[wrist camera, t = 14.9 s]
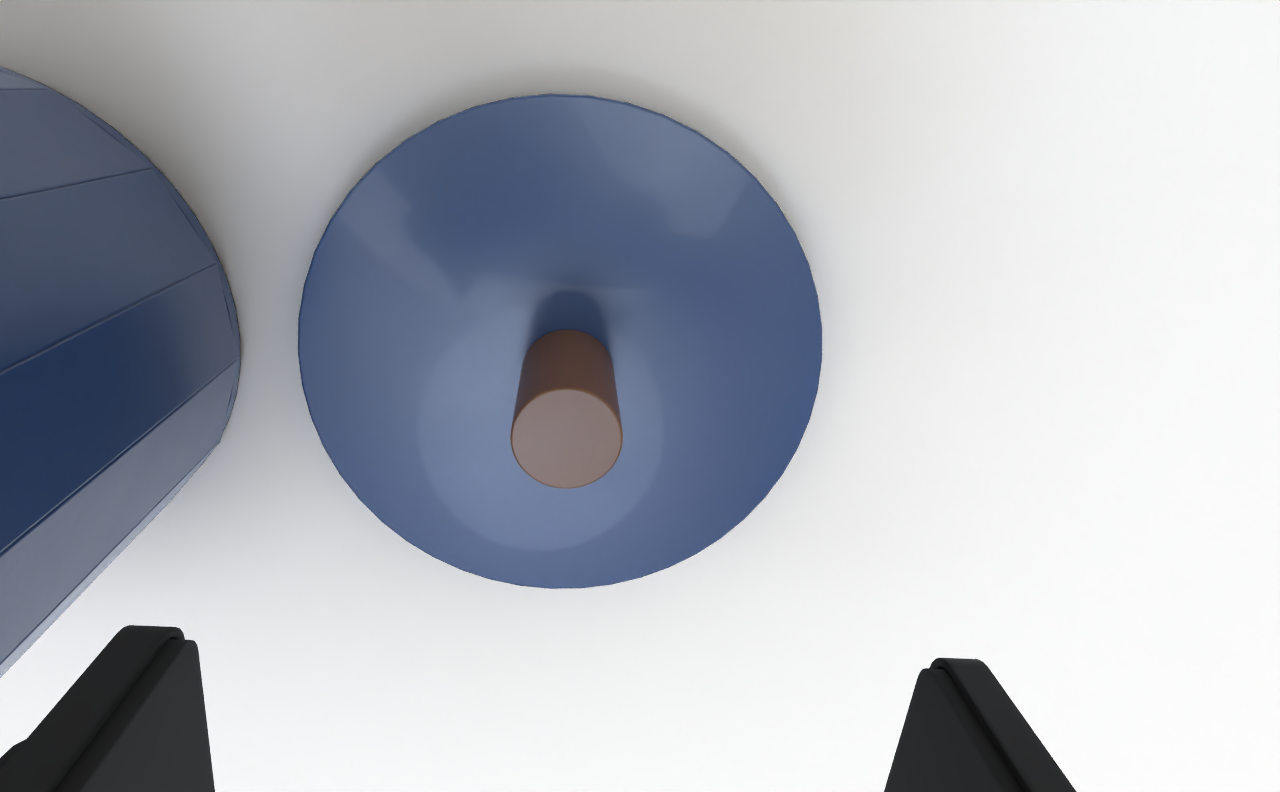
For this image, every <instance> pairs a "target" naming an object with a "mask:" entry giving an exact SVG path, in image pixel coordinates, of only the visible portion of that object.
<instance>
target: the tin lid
mask: <svg viewBox="0 0 1280 792" xmlns="http://www.w3.org/2000/svg"><path fill="white" fill-rule="evenodd" d="M298 356H299V364H300V372H301V380H302V386H303V390H304V394H305V397H306V401H307V405H308V408H309V412H310V415H311V418H312V421H313V423H314V425H315V428H316V430H317V432H318V435H319V437H320V439H321V442H322V444H323V446H324V448H325V450H326V452H327V453H328V455H329V457H330V458H331V460H332V462H333V463H334V465H335V467H336V469H337V470H338V472H339V474H340V475H341V476H342V478H343V479H344V480H345V481H346V483H347V484H348V485H349V487H350V488H351V489H352V490H353V492H354V493H355V494H356V496H357V497H358V498H359V499H360V500H361V501H362V502H363V503H364V504H365V505H366V506H367V507H368V508H369V509H370V510H371V511H372V512H373V513H374V514H375V515H376V516H377V517H378V518H379V519H380V520H381V521H382V522H383V523H384V524H386V525H387V526H388V527H389V528H391V529H392V530H393V531H395V532H396V533H397V534H398V535H400V536H401V537H402V538H404V539H405V540H406V541H408V542H409V543H411V544H413V545H414V546H416V547H418V548H419V549H421V550H423V551H424V552H426V553H427V554H429V555H431V556H432V557H434V558H437V559H439V560H441V561H443V562H445V563H447V564H450V565H452V566H454V567H456V568H458V569H461V570H463V571H466V572H469V573H473V574H476V575H479V576H482V577H485V578H488V579H491V580H496V581H501V582H505V583H510V584H515V585H520V586H529V587H540V588H550V589H555V588H586V587H594V586H603V585H611V584H615V583H619V582H624V581H628V580H632V579H636V578H640V577H643V576H646V575H649V574H652V573H654V572H657V571H660V570H663V569H666V568H669V567H671V566H673V565H675V564H677V563H679V562H681V561H683V560H685V559H687V558H689V557H691V556H693V555H695V554H697V553H698V552H700V551H702V550H703V549H705V548H706V547H708V546H709V545H711V544H712V543H714V542H716V541H717V540H719V539H720V538H722V537H723V536H724V535H725V534H727V533H728V532H729V531H730V530H731V529H733V528H734V527H735V526H736V525H738V524H739V523H740V522H741V521H743V520H744V519H745V518H746V517H747V516H748V515H749V514H750V513H751V511H752V510H753V509H754V508H755V507H756V506H757V505H758V504H759V503H760V502H761V501H762V500H763V499H764V498H765V497H766V495H767V494H768V493H769V491H770V490H771V489H772V488H773V486H774V485H775V484H776V482H777V481H778V480H779V478H780V477H781V476H782V474H783V473H784V471H785V469H786V467H787V466H788V464H789V462H790V461H791V459H792V457H793V455H794V454H795V452H796V450H797V448H798V446H799V444H800V441H801V439H802V437H803V434H804V432H805V430H806V427H807V425H808V422H809V420H810V416H811V413H812V409H813V405H814V402H815V398H816V395H817V391H818V384H819V377H820V370H821V362H822V324H821V317H820V309H819V302H818V295H817V292H816V288H815V284H814V281H813V277H812V274H811V270H810V267H809V263H808V261H807V259H806V257H805V254H804V252H803V250H802V247H801V245H800V243H799V241H798V238H797V236H796V234H795V232H794V230H793V229H792V227H791V225H790V224H789V222H788V221H787V219H786V217H785V216H784V214H783V212H782V211H781V209H780V208H779V206H778V204H777V203H776V202H775V201H774V199H773V198H772V197H771V196H770V195H769V193H768V192H767V191H766V190H765V189H764V187H763V186H762V185H761V184H760V183H759V181H758V180H757V179H756V178H755V177H754V176H753V175H752V174H751V173H750V172H749V171H748V170H747V169H746V168H745V167H744V166H742V165H741V164H740V163H739V162H738V161H737V160H736V159H735V158H734V157H733V156H731V155H730V154H729V153H728V152H727V151H725V150H724V149H722V148H721V147H719V146H718V145H717V144H715V143H714V142H712V141H711V140H709V139H708V138H706V137H705V136H703V135H702V134H700V133H699V132H698V131H696V130H694V129H692V128H690V127H688V126H686V125H683V124H681V123H679V122H677V121H675V120H673V119H671V118H669V117H667V116H665V115H663V114H660V113H657V112H654V111H651V110H648V109H645V108H642V107H639V106H636V105H633V104H630V103H627V102H623V101H617V100H612V99H606V98H601V97H596V96H590V95H571V94H542V95H531V96H521V97H512V98H508V99H504V100H500V101H496V102H491V103H487V104H483V105H479V106H475V107H472V108H470V109H467V110H465V111H462V112H460V113H457V114H455V115H452V116H450V117H447V118H445V119H442V120H440V121H437V122H436V123H434V124H432V125H431V126H429V127H427V128H425V129H424V130H422V131H420V132H418V133H417V134H415V135H413V136H411V137H410V138H408V139H406V140H405V141H404V142H402V143H401V144H400V145H398V146H397V147H396V148H395V149H393V150H392V151H391V152H390V153H388V154H387V155H386V156H385V157H383V158H382V159H381V160H379V161H378V162H377V163H376V164H375V165H374V166H373V167H372V168H371V169H370V170H369V171H368V172H367V173H366V174H365V176H364V177H363V178H362V179H361V180H360V181H359V182H358V183H357V184H356V185H355V186H354V187H353V188H352V189H351V191H350V192H349V193H348V195H347V196H346V198H345V199H344V201H343V202H342V204H341V205H340V206H339V208H338V209H337V211H336V212H335V214H334V215H333V216H332V218H331V219H330V221H329V223H328V225H327V227H326V229H325V231H324V233H323V235H322V237H321V240H320V242H319V244H318V246H317V248H316V250H315V252H314V255H313V258H312V261H311V264H310V267H309V271H308V274H307V277H306V280H305V283H304V288H303V294H302V300H301V306H300V312H299V318H298Z"/></svg>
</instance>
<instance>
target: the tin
mask: <svg viewBox="0 0 1280 792" xmlns="http://www.w3.org/2000/svg"><path fill="white" fill-rule="evenodd" d="M239 372H240V335H239V329H238V322H237V316H236V310H235V305H234V302H233V298H232V295H231V291H230V288H229V285H228V281H227V278H226V275H225V273H224V270H223V268H222V266H221V264H220V261H219V259H218V257H217V255H216V252H215V250H214V248H213V245H212V244H211V242H210V240H209V238H208V237H207V235H206V233H205V232H204V230H203V228H202V227H201V225H200V223H199V222H198V220H197V218H196V216H195V215H194V213H193V212H192V211H191V209H190V208H189V207H188V205H187V204H186V203H185V201H184V200H183V199H182V197H181V196H180V195H179V193H178V192H177V191H176V189H175V188H174V187H173V185H172V184H171V183H170V182H169V181H168V180H167V179H166V177H165V176H164V175H163V174H162V173H161V172H160V171H159V170H158V169H157V168H156V167H155V166H154V165H153V164H152V163H151V161H150V160H149V159H148V158H147V157H146V156H145V155H144V154H143V153H142V152H140V151H139V150H138V149H137V148H136V147H135V146H133V145H132V144H131V143H130V142H129V141H128V140H127V139H125V138H124V137H123V136H122V135H121V134H120V133H118V132H117V131H116V130H115V129H114V128H112V127H111V126H110V125H108V124H107V123H105V122H104V121H102V120H101V119H100V118H98V117H97V116H95V115H94V114H92V113H91V112H90V111H88V110H87V109H85V108H84V107H82V106H81V105H80V104H78V103H76V102H74V101H72V100H71V99H69V98H67V97H65V96H63V95H62V94H60V93H58V92H56V91H54V90H52V89H51V88H49V87H47V86H45V85H43V84H41V83H39V82H37V81H34V80H32V79H30V78H27V77H25V76H22V75H20V74H18V73H15V72H13V71H11V70H8V69H6V68H3V67H0V678H1V677H2V676H3V675H4V674H5V673H6V671H7V670H8V669H9V668H10V667H11V666H12V665H13V664H14V663H15V662H16V661H17V660H18V659H19V658H20V657H21V656H22V655H23V654H24V653H25V652H26V651H27V650H28V649H29V648H30V647H31V645H32V644H33V643H34V642H35V641H36V640H37V639H38V638H39V637H40V636H41V635H42V634H43V633H44V632H45V631H46V630H47V629H48V628H49V627H50V626H51V625H52V624H53V623H54V622H55V620H56V619H57V618H58V617H59V616H60V615H61V614H62V613H63V612H64V611H65V610H66V609H67V608H68V607H69V606H70V605H71V604H72V603H73V602H74V601H75V600H76V599H77V598H78V597H79V596H80V594H81V593H82V592H83V591H84V590H85V589H86V588H87V587H88V586H89V585H90V584H91V583H92V582H93V581H94V580H95V579H96V578H97V577H98V576H99V575H100V574H101V573H102V572H103V571H104V570H105V568H106V567H107V566H108V565H109V564H110V563H111V562H112V561H113V560H114V559H115V558H116V557H117V556H118V555H119V554H120V553H121V552H122V551H123V550H124V549H125V548H126V547H127V546H128V545H129V543H130V542H131V541H132V540H133V539H134V538H135V537H136V536H137V535H138V534H139V533H140V532H141V531H142V530H143V529H144V528H145V527H146V526H147V525H148V524H149V523H150V522H151V521H152V520H153V519H154V517H155V516H156V515H157V514H158V513H159V512H160V511H161V510H162V509H163V508H164V507H165V506H166V505H167V504H168V503H169V502H170V501H171V500H172V498H173V497H174V496H175V495H176V494H177V492H178V491H179V490H180V489H181V488H182V487H183V485H184V484H185V483H186V482H187V481H188V479H189V478H190V477H191V476H192V475H193V473H194V472H195V471H196V470H197V469H198V468H199V467H200V466H201V465H202V464H203V462H204V461H205V460H206V458H207V457H208V456H209V454H210V453H211V452H212V451H213V450H214V448H215V447H216V446H217V445H218V444H219V442H220V439H221V436H222V432H223V430H224V428H225V426H226V424H227V422H228V420H229V417H230V413H231V410H232V407H233V404H234V400H235V397H236V393H237V386H238V379H239Z"/></svg>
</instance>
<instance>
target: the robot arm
mask: <svg viewBox="0 0 1280 792" xmlns="http://www.w3.org/2000/svg"><path fill="white" fill-rule="evenodd" d="M0 792H215V789H214V780H213V772H212V763H211V755H210V746H209V738H208V729H207V721H206V712H205V704H204V695H203V687H202V678H201V670H200V661H199V653H198V647H197V644H196V643H195V641H193V640H185V638H184V634H183V632H182V631H181V629H180V628H177V627H159V626H134V625H129V626H126V627H123V628H122V629H121V630H120V631H119V632H118V633H117V634H116V635H115V636H114V637H113V639H112V640H111V641H110V642H109V643H108V645H107V646H106V647H105V648H104V649H103V650H102V652H101V653H100V654H99V655H98V656H97V657H96V659H95V660H94V661H93V662H92V663H91V664H90V666H89V667H88V668H87V669H86V670H85V671H84V673H83V674H82V675H81V676H80V677H79V678H78V680H77V681H76V682H75V683H74V684H73V685H72V687H71V688H70V689H69V690H68V691H67V693H66V694H65V695H64V696H63V697H62V698H61V700H60V701H59V702H58V703H57V704H56V705H55V707H54V708H53V709H52V710H51V711H50V712H49V714H48V715H47V716H46V717H45V718H44V719H43V721H42V722H41V723H40V724H39V725H38V726H37V728H36V729H35V730H34V731H33V732H32V733H31V735H30V736H29V737H28V738H27V739H26V740H24V741H22V742H20V743H18V744H16V745H14V746H13V747H12V748H11V749H9V750H8V751H7V752H6V753H5V754H4V755H3V756H2V757H1V758H0ZM884 792H1076V791H1075V789H1074V788H1073V786H1072V785H1071V784H1070V782H1069V781H1068V779H1067V778H1066V776H1065V775H1064V774H1063V772H1062V771H1061V769H1060V768H1059V767H1058V765H1057V764H1056V762H1055V761H1054V760H1053V758H1052V757H1051V755H1050V754H1049V753H1048V751H1047V750H1046V748H1045V747H1044V745H1043V744H1042V743H1041V741H1040V740H1039V738H1038V737H1037V736H1036V734H1035V733H1034V731H1033V730H1032V729H1031V727H1030V726H1029V724H1028V723H1027V722H1026V720H1025V719H1024V717H1023V716H1022V714H1021V713H1020V712H1019V710H1018V709H1017V707H1016V706H1015V705H1014V703H1013V702H1012V700H1011V699H1010V698H1009V696H1008V695H1007V693H1006V692H1005V691H1004V689H1003V688H1002V686H1001V685H1000V683H999V682H998V681H997V679H996V678H995V676H994V675H993V674H992V672H991V671H990V669H989V668H988V667H987V666H986V665H985V664H984V663H983V662H982V661H980V660H978V659H956V658H937V659H935V660H934V661H933V662H932V664H931V666H930V668H929V669H928V668H926V669H923V670H922V671H921V672H920V673H919V676H918V679H917V682H916V685H915V689H914V692H913V696H912V699H911V702H910V706H909V709H908V712H907V716H906V719H905V723H904V726H903V729H902V733H901V736H900V740H899V743H898V746H897V750H896V753H895V757H894V760H893V763H892V767H891V770H890V773H889V777H888V780H887V784H886V787H885V790H884Z"/></svg>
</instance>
